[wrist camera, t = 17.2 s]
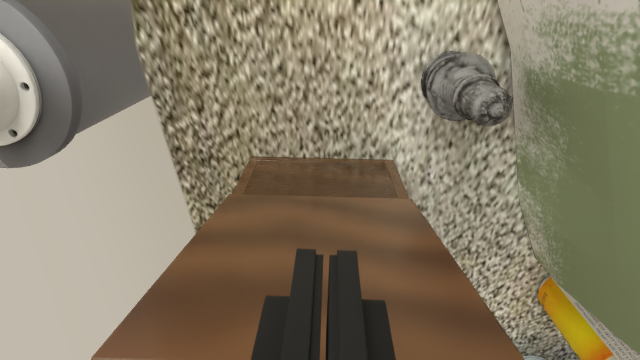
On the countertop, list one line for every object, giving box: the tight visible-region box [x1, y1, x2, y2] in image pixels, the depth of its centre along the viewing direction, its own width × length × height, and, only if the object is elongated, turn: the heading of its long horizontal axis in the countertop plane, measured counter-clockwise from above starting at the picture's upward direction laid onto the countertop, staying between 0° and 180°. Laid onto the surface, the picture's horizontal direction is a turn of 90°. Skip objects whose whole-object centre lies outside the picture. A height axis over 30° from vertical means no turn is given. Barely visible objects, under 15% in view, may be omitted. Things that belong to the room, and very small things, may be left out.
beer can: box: [538, 275, 640, 360], centre depth 39 cm, size 6×6×15 cm
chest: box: [232, 157, 409, 199], centre depth 39 cm, size 18×15×9 cm
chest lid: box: [91, 194, 525, 360], centre depth 22 cm, size 19×15×1 cm
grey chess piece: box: [421, 51, 512, 126], centre depth 30 cm, size 6×6×12 cm
